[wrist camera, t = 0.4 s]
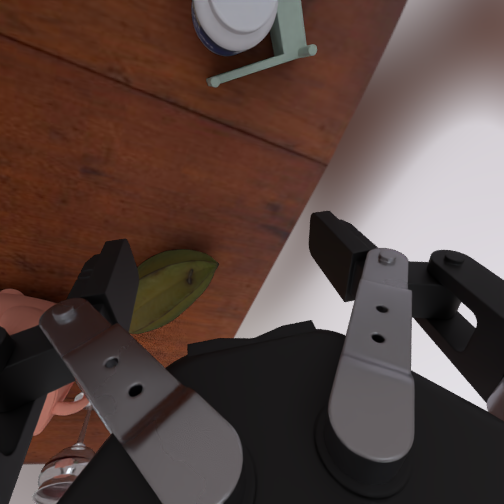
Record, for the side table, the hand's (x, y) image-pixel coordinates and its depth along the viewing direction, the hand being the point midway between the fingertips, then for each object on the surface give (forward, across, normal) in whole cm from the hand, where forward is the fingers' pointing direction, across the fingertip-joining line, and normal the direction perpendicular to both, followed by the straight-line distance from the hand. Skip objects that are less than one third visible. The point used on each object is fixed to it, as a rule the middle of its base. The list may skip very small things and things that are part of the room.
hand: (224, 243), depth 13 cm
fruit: (+19, +7, +15) cm, 25 cm away
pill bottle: (+19, -3, -10) cm, 22 cm away
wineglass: (+19, +22, +36) cm, 46 cm away
